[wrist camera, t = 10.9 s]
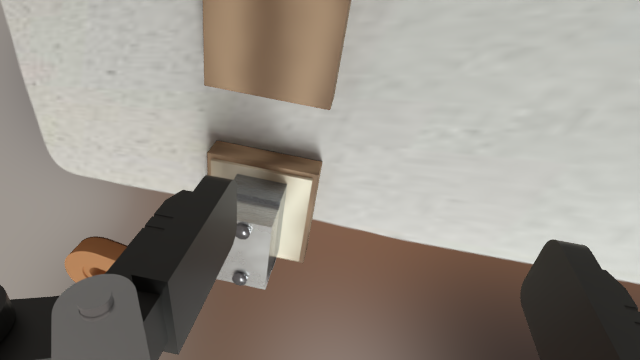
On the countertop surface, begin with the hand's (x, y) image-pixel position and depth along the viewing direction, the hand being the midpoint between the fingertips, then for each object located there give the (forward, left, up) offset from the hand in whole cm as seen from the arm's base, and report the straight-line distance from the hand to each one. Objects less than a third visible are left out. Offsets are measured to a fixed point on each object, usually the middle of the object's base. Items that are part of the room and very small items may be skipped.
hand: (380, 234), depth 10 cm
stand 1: (+9, +1, -26) cm, 27 cm away
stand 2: (+9, +20, -26) cm, 34 cm away
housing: (+8, +20, -23) cm, 32 cm away
